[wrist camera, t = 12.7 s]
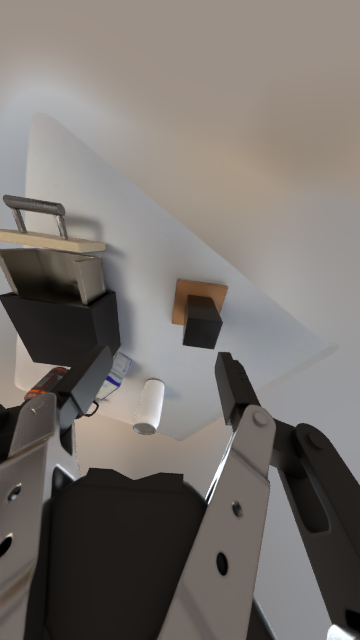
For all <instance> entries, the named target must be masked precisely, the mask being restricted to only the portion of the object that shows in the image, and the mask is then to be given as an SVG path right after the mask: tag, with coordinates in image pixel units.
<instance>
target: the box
mask: <svg viewBox="0 0 360 640" xmlns="http://www.w3.org/2000/svg"><path fill="white" fill-rule="evenodd" d="M130 363H131V360H130V359H128V358H127V357H125V356H124V355H123V354H121V353H120V352H119V353H118V354H116V355H115V356H114V357H113V367H112V369H111V371H110V373H109V374H108V376H107V378H106V380H105V381H104V383H103V385H102V387H101V388H100V390H99V392H98V394H97V395H96V397H97V398H100V399H104V398H105V397H107V396H108V395H109V394H111V393H112V392H113V391H115V390H116V389H118V388H119V387H120V385H121V383H122V380H123V378H124V376H125V374H126V372H127V369H128V367H129V365H130Z"/></svg>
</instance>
